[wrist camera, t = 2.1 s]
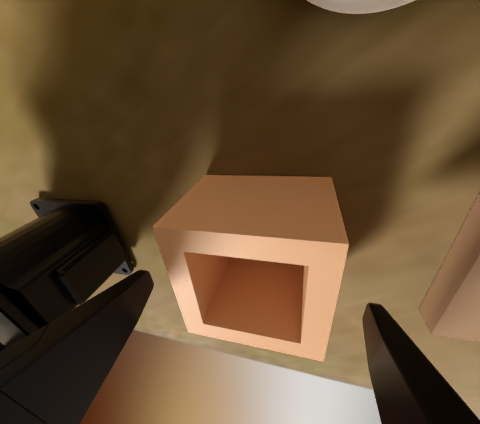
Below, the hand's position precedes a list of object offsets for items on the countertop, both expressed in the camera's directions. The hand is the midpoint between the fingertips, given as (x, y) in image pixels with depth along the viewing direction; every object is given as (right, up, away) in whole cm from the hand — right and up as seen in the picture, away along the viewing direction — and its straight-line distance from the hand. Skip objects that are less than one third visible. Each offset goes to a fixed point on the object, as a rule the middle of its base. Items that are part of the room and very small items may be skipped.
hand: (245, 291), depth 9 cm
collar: (+1, +2, +4) cm, 5 cm away
